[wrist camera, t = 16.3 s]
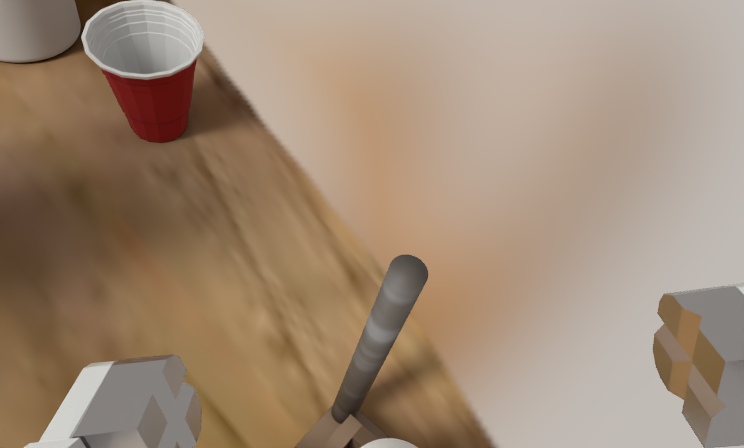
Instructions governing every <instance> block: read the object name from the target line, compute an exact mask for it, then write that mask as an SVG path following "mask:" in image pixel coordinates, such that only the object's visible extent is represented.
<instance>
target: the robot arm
mask: <svg viewBox="0 0 744 448" xmlns="http://www.w3.org/2000/svg"><path fill="white" fill-rule="evenodd" d="M658 315H659V316H660V317H661V319H662V320H663V322H664V323H665V324H664V325H663V326H662V327H661V328H660V329H659V330H658V331H657V332H656V333H655V335H654V344H653V353H654V358H655V364H656V368H657V370H658V373H659V375H660V378H661V379H662V381H663V383H664V384H665V386H666V388H667V389H668V391H670V392H672V393H673V394H675V395H677V396H679V397H680V398H682V399H684V405H683V411H682V413H683V415H684V417H685V418H686V420H687V421H688V423H689V425H690V426H691V428H692V429H693V431H694V433H695V434H696V436H697V437H698V439H699V440H700V442H701V444H702V445H703V447H704V448H714V447H726V446H740V445H744V283H740V284H732V285H728V286H721V287H713V288H706V289H698V290H691V291H683V292H675V293H667V294H664V295H663V296H662V298H661V300H660V302H659V308H658ZM186 371H187V370H186V368H185V366H184V364H183V362H182V360H181V358H180V357H179V356H176V355H164V356H153V357H143V358H133V359H123V360H118V361H109V362H99V363H91V364H90V365H88V366H86V367H85V368H83V370H82V371H81V373H80V375H79V376H78V378H77V380H76V381H75V383H74V384H73V386H72V388H71V389H70V391H69V393H68V394H67V396H66V398H65V399H64V401H63V403H62V404H61V406H60V408H59V409H58V411H57V412H56V414H55V416H54V417H53V419H52V421H51V422H50V424H49V426H48V427H47V429H46V431H45V432H44V434H43V435H42V437H41V439H40V440H39V442H36V443H29V444H28V445H26V446H25V447H24V448H193V447H194V446H195V445H196V444H197V440H198V437H199V433H200V430H201V415H202V411H201V405H200V400H199V397H198V395H197V392H196V390H195V388H193V387H192V386H190V385H188V384H187V383H185V382H184V381H183V379H184V377H185V374H186Z"/></svg>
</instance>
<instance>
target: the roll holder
mask: <svg viewBox="0 0 744 448" xmlns="http://www.w3.org/2000/svg"><path fill="white" fill-rule="evenodd" d="M427 279H428V270H427V268H426V266H425V264H424V263H423V262H422V261H421V260H420V259H418V258H417V257H414V256H412V255H400V256H398V257H396V258H394V260H392V262H391V264H390V266H389V269H388V271H387V274H386V276H385V278H384V281H383V283H382V286H381V288H380V291H379V293H378V296H377V298H376V301H375V303H374V306H373V308H372V310H371V313H370V315H369V318H368V320H367V323H366V325H365V328H364V330H363V333H362V335H361V338H360V340H359V343H358V345H357V347H356V350H355V352H354V355H353V357H352V360H351V362H350V365H349V367H348V370H347V372H346V375H345V377H344V379H343V382H342V384H341V387H340V389H339V392H338V394H337V397H336V399H335V402H334V404H333V406H332V407H331V408H330V409H329V410H328V411H327V412H326V413H325V415H324V416H323V417H322V418H321V419H320V420H319V421H318V422H317V423H316V424H315V426H314V427H313V428H312V429H311V430H310V431H309V432H308V433H307V434H306V435H305V437H304V438H303V439H302V440H301V441H300V442H299V443H298V444H297V445H296V446H295V447H294V448H361V447H362V446H364V445H365V444H367V443H369V442H372V441H374V440H378V439H384V438H390V437H388V436H387V435H386V434H385V433H384V432H383V431H382V430H381V429H380V428H379V427H377V426H376V425H375V424H374V423H373V422H372V421H371V420H370V419H369V418H368V417H366V416H365V415H364V414H363V413H362V412H361V411H360V410H359V408H360V406H361V405H362V403H363V401H364V399H365V397H366V395H367V393H368V391H369V389H370V387H371V386H372V384H373V382H374V380H375V378H376V376H377V374H378V372H379V370H380V368H381V367H382V365H383V363H384V361H385V359H386V357H387V355H388V353H389V351H390V349H391V348H392V346H393V344H394V342H395V340H396V338H397V336H398V334H399V332H400V330H401V329H402V327H403V325H404V323H405V321H406V319H407V317H408V315H409V313H410V311H411V310H412V308H413V306H414V304H415V302H416V300H417V298H418V296H419V294H420V292H421V291H422V289H423V287H424V285H425V283H426V281H427Z"/></svg>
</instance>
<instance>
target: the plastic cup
mask: <svg viewBox="0 0 744 448" xmlns="http://www.w3.org/2000/svg"><path fill="white" fill-rule="evenodd" d="M81 39H82V42H83V46H84V49H85V53H86V54H87V55H88V56H89V57H90V58H91V59H92V60H93V61H94V62H95V63H96V64H97V65H98V66H99V67H100V68H101V70H102V72H103V74H104V75H105V76H106V78H107V80H108V82H109V84H110V86H111V88H112V90H113V92H114V94H115V96H116V98H117V101H118V103H119V105H120V107H121V109H122V111H123V112H124V113H125V115H126V117H127V119H128V122H129V124H130V126H131V128H132V129H133V130H134V132H135V133H136V134H137V135H138V136H139V137H140V138H142V139H144V140H147V141H149V142H159V143H161V142H167V141H172V140H174V139H175V138H177V137H179V136H180V135H181V134H182V133H183V132H184V131H185V128H186V126H187V121H188V114H189V108H190V103H191V96H192V87H193V79H194V71H195V66H196V61H197V57H198V56H199V55H200V54H201V51H202V45H203V40H204V34H203V32H202V29H201V27H200V24H199V22H198V21H197V20H196V19H195V18H194V17H193V16H191V15H190V14H189V13H188V12H187V11H186V10H184V9H182V8H179V7H177V6H174V5H172V4H169V3H167V2H162V1H154V0H132V1H123V2H118V3H116V4H113V5H111V6H108V7H106V8H104V9H101V10H100V11H98V12H97V13H96V14H95V15H94V16H93V17H92V18H91V19H89V20H88V21H87V22H86V25H85V28H84V30H83V33H82V36H81Z"/></svg>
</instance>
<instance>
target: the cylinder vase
mask: <svg viewBox="0 0 744 448" xmlns="http://www.w3.org/2000/svg"><path fill="white" fill-rule="evenodd" d="M80 29H81V24H80V19H79V15H78V11H77V8H76V4H75V0H0V61H3V62H13V63H24V62H34V61H40V60H44V59H48V58H51V57H53V56H56V55H58V54H60V53H62V52H64V51H65V50H67V49H68V48H69V47H71V46H72V45H73V44H74V42H75V41H76V40H77V38H78V36H79V34H80Z"/></svg>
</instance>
